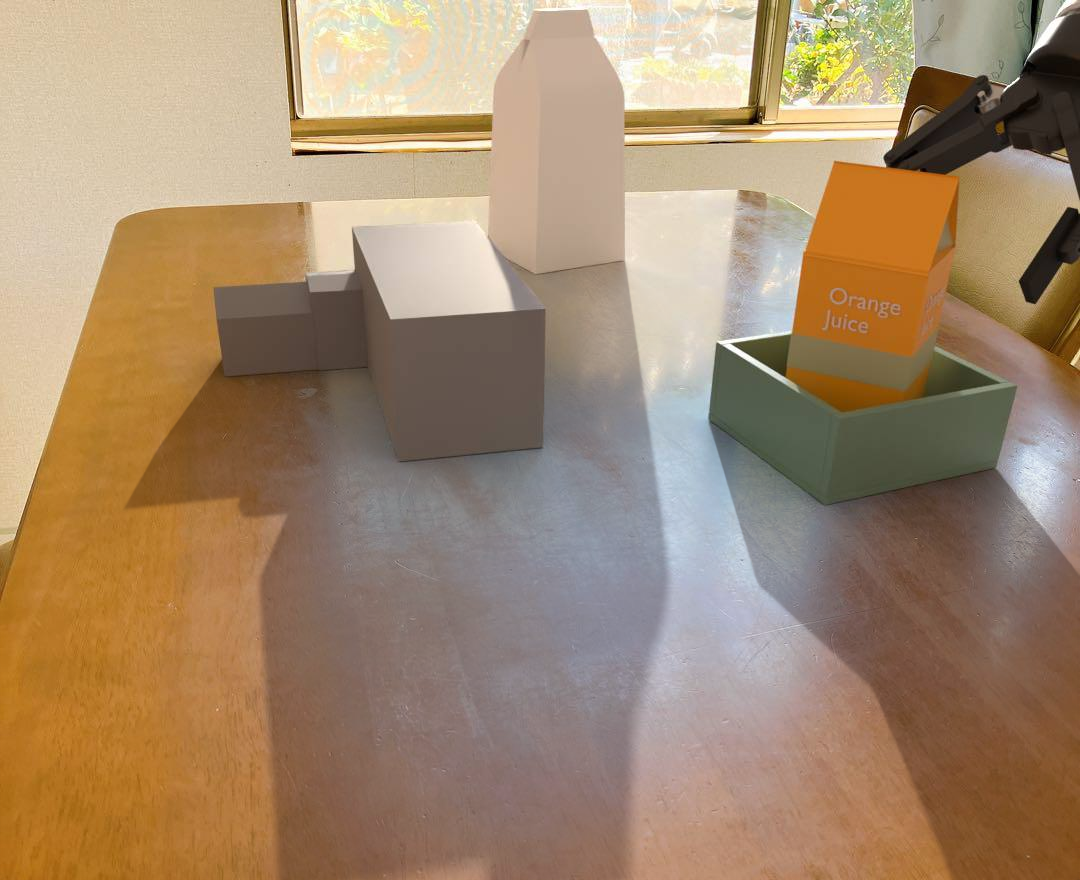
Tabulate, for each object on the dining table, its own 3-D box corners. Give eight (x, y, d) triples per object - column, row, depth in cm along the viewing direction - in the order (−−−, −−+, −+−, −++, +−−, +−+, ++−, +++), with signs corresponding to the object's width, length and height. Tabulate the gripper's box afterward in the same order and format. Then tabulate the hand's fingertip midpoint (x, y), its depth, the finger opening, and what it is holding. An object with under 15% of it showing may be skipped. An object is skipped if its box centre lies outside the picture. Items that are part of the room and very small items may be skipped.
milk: (535, 274, 120) (539, 15, 107) (487, 248, 129) (485, 6, 115) (624, 260, 125) (639, 12, 112) (573, 236, 134) (580, 3, 121)
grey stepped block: (224, 354, 98) (207, 233, 92) (476, 335, 103) (474, 220, 97) (227, 478, 77) (205, 332, 71) (543, 447, 82) (545, 308, 77)
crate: (996, 467, 81) (1018, 385, 77) (824, 505, 75) (840, 418, 72) (863, 391, 93) (877, 317, 89) (707, 419, 87) (715, 341, 84)
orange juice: (889, 468, 79) (947, 187, 69) (775, 440, 83) (813, 170, 72) (917, 430, 85) (974, 166, 74) (809, 405, 88) (849, 151, 78)
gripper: (940, -4, 89) (798, 208, 88) (1267, 21, 72) (1095, 282, 72) (962, 62, 94) (829, 261, 94) (1271, 99, 78) (1111, 342, 77)
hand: (944, 271), depth 83 cm, fingers open, 13 cm apart
